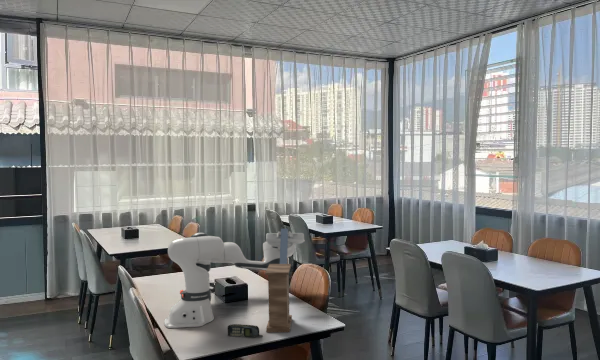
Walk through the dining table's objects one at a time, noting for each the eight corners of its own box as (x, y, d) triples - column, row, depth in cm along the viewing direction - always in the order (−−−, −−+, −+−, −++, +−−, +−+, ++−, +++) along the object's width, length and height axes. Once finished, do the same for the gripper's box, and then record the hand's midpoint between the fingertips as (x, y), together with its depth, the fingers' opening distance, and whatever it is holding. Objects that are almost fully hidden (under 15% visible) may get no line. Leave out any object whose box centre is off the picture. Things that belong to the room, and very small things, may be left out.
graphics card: (211, 280, 272) (235, 288, 254) (211, 285, 272) (235, 294, 254) (196, 283, 265) (219, 291, 247) (196, 289, 266) (219, 298, 247)
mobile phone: (226, 325, 191) (260, 326, 188) (229, 323, 194) (262, 324, 191) (227, 337, 192) (261, 338, 189) (229, 334, 195) (263, 335, 192)
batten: (281, 231, 239) (281, 228, 236) (288, 231, 239) (287, 228, 236) (279, 278, 225) (279, 276, 223) (286, 278, 225) (286, 276, 223)
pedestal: (270, 319, 212) (269, 264, 210) (291, 319, 211) (290, 263, 210) (266, 332, 196) (265, 272, 194) (289, 332, 195) (288, 272, 194)
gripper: (305, 247, 245) (304, 238, 233) (267, 247, 246) (264, 238, 234) (305, 236, 248) (304, 227, 236) (268, 236, 249) (265, 227, 237)
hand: (284, 232), depth 235 cm, fingers closed on batten, 3 cm apart
